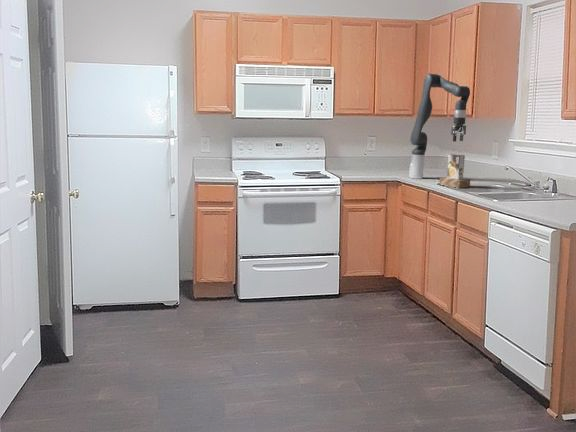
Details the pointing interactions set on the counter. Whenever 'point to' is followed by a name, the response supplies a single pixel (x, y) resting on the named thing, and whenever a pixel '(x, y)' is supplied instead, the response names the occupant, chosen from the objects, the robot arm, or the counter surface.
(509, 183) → the counter surface
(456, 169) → the coffee box
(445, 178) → the light brown square block
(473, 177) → the counter surface
